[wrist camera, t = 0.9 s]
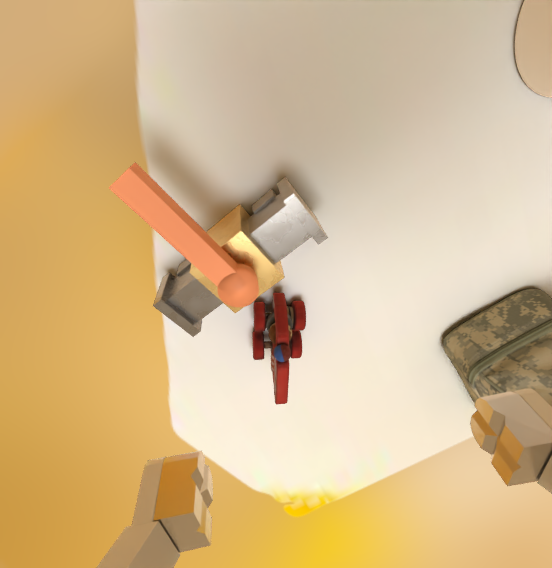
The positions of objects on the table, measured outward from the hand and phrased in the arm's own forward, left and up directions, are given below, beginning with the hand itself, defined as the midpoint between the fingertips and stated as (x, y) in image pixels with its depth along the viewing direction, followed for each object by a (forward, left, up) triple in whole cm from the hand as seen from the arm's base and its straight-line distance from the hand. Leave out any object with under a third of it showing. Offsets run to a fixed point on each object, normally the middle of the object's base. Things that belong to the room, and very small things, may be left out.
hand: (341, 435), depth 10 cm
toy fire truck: (+12, +18, -34) cm, 40 cm away
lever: (+8, -1, -24) cm, 26 cm away
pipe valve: (+8, +5, -33) cm, 35 cm away
